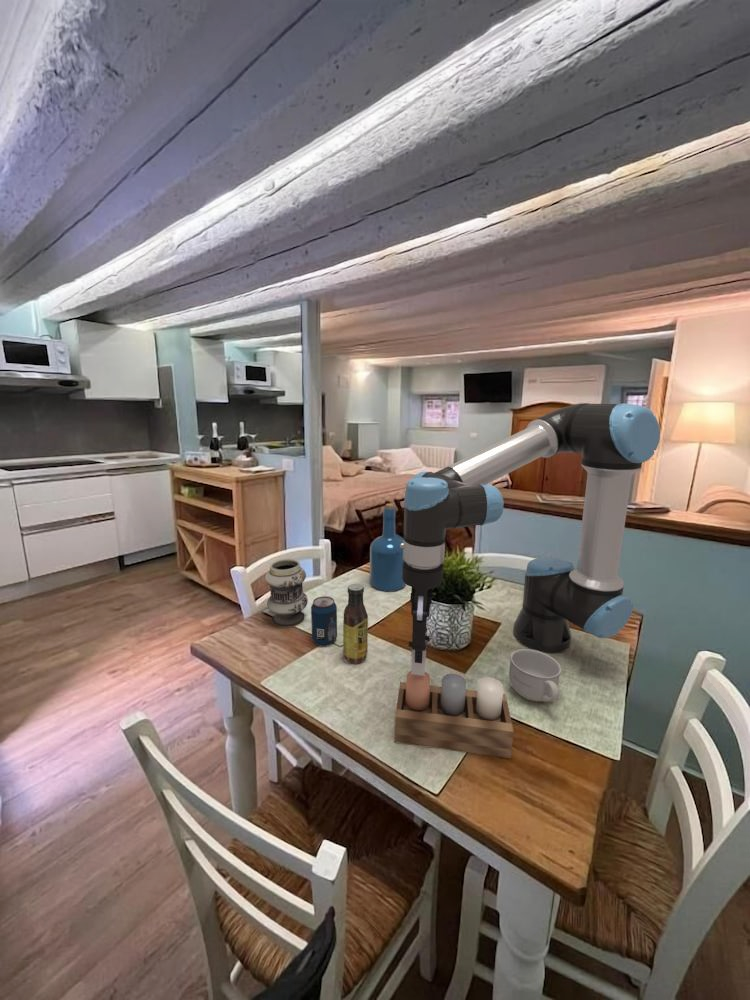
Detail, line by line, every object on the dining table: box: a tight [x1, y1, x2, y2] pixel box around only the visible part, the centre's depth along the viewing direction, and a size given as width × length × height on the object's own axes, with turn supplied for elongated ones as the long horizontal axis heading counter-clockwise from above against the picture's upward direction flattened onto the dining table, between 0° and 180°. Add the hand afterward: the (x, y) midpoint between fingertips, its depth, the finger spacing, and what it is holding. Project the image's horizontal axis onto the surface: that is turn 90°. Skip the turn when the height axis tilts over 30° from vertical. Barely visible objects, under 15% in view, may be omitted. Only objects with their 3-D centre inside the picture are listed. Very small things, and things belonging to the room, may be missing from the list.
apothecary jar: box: [264, 558, 309, 629], centre depth 122 cm, size 12×12×18 cm
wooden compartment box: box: [393, 681, 515, 759], centre depth 82 cm, size 22×10×6 cm, turn 81°
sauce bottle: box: [342, 583, 369, 665], centre depth 103 cm, size 6×6×20 cm
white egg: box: [476, 676, 504, 721], centre depth 80 cm, size 5×5×6 cm
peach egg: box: [405, 670, 431, 712], centre depth 82 cm, size 5×5×6 cm
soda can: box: [310, 595, 338, 647], centre depth 112 cm, size 7×7×12 cm
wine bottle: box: [369, 503, 406, 592], centre depth 144 cm, size 14×13×30 cm
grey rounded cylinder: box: [440, 672, 467, 716], centre depth 81 cm, size 5×5×6 cm
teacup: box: [508, 648, 562, 702], centre depth 92 cm, size 14×11×8 cm
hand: (417, 672), depth 81 cm, fingers closed
